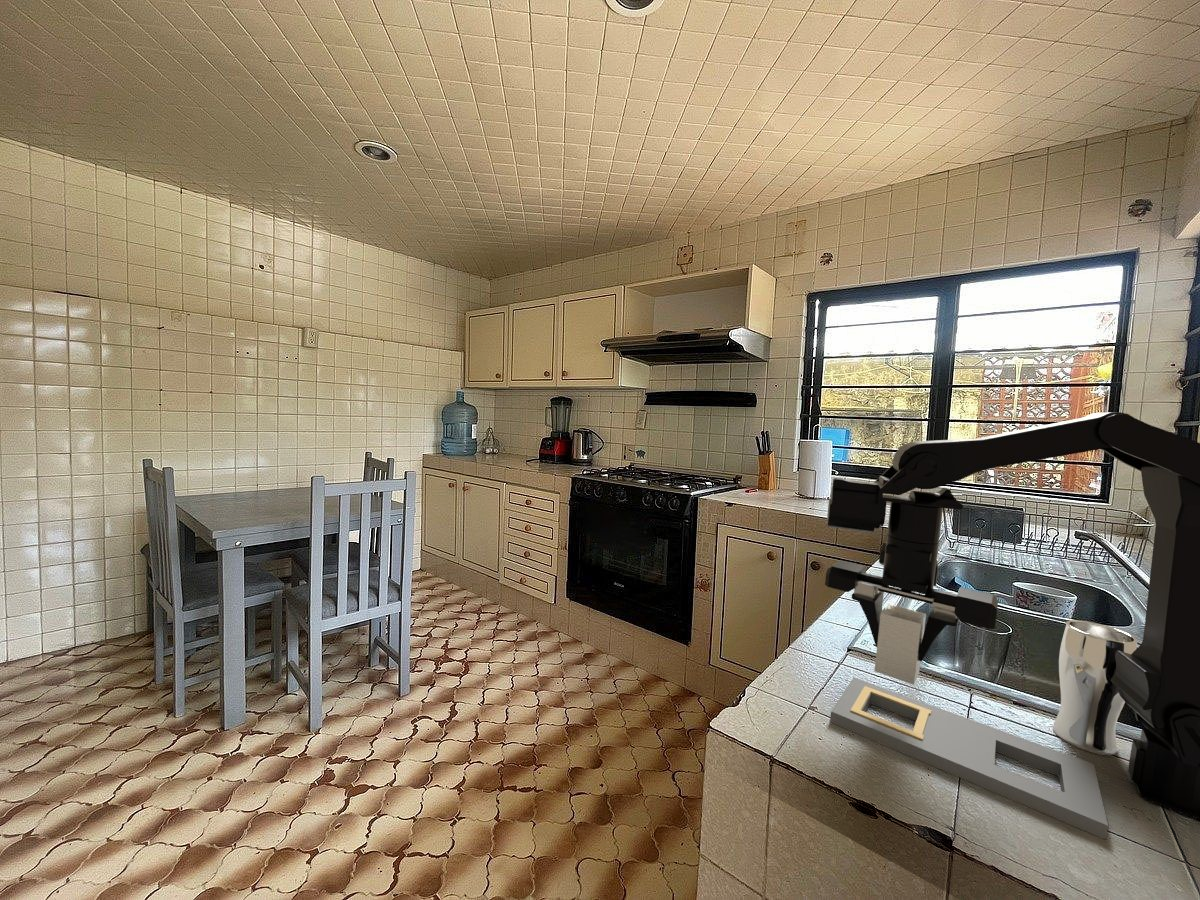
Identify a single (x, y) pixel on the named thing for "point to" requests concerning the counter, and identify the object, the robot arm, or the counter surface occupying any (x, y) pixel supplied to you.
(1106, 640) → the silver metal cylinder
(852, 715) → the rail
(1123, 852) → the counter surface
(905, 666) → the peg
